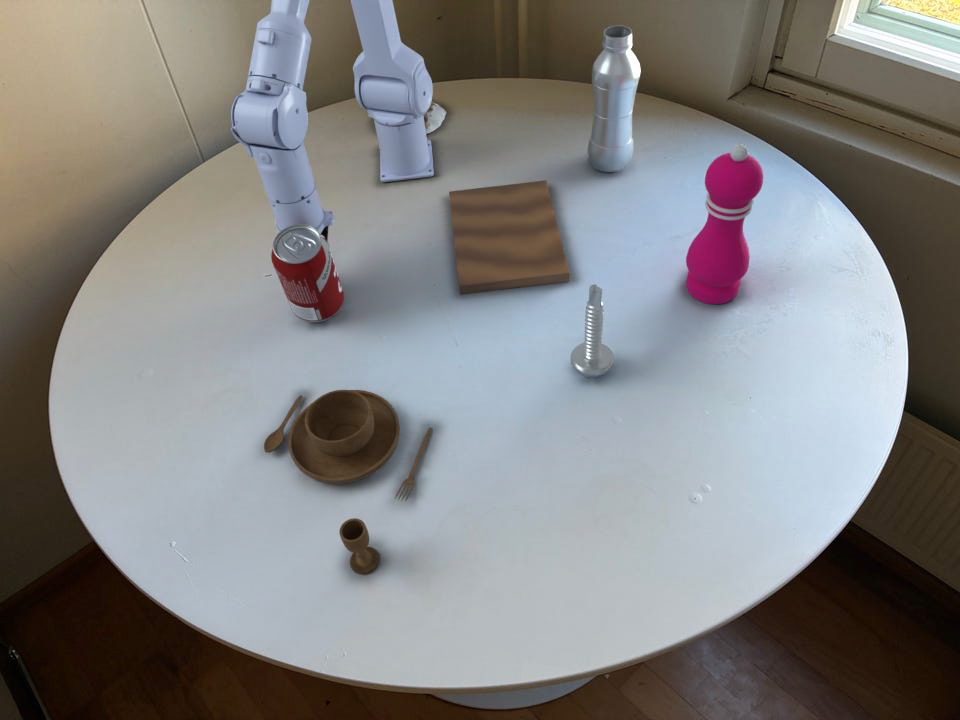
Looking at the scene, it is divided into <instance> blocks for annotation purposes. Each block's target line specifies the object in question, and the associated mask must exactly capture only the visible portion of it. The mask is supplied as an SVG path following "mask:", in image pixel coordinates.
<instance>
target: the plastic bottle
mask: <svg viewBox="0 0 960 720" xmlns="http://www.w3.org/2000/svg"><path fill="white" fill-rule="evenodd" d="M602 35H603V36H602V43H601V46H602V51H601V52H600V54H599V55H598V56H597V57H596V59H595V60H594V62H593V65H592V68H591V71H590V72H591V86H592V94H593V118H592V123H591V124H592V125H591V132H590V136H589V140H588V144H587V158H588V162H589V163H590V165H591V166H592V167H593V168H594V169H595V170H597V171H599V172H603V173H615V172H618V171H619V172H620V171H621V170H623V169H625V168H626V167H627V166H628V165H629V164H630V162H631V161H632V158H633V154H634V151H635V150H634V149H635V147H634V136H633V113H634V112H633V111H634V105H635V99H636V94H637V90H638V85H639V81H640V78H641V71H642V70H641V64H640V60H639V59H638V58H637V56H636V54H635V53H634V51H633V50H632V47H633V45H634V44H633V43H634V41H633V30H632V28H631V27H629V26H626V25H611V26H609V27H607V28H605V29H604V30H603V34H602Z"/></svg>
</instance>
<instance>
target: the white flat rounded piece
mask: <svg viewBox="0 0 960 720" xmlns="http://www.w3.org/2000/svg"><path fill="white" fill-rule="evenodd" d="M434 101H435V99H433V98H432V101H431V104H430V107H429V109H428V110H427V112H426V113H425V114H424V115H423V116H424V123H425V129H426V135H427V134H430V133H433V132H434V131H435V130H437V129H438V128H440V127H441V125H442V123H443V121H444V120H445V118H446V115H447V114H448V112H447V111H446V109H444V108H443V107H442V106H441V105H440V104H438V103H434Z"/></svg>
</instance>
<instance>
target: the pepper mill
mask: <svg viewBox="0 0 960 720" xmlns="http://www.w3.org/2000/svg"><path fill="white" fill-rule="evenodd" d="M763 184H764V171H763V167H762V165H761V164H760V162H759V161H758V160H757V159H756V158H754V157H753V156H752V155H750V154H749V149H748V147H747V146H746V145H745V144H741V143H737V144H735V145H734V146H733V147H732V148H731V149H730V152H727V153H723V154H721V155H719V156H717V157H716V158H715V159H714V160H713V161H711V162H710V164H709V166H708V168H707V170H706V172H705V177H704V186H705V190H706V192H707V194H706V196H705V197H706V200H705V202H704V204H705V205H704V206H705V210H706V211H707V214H708V215H707V220H706V222H705V224H704V226H703V227H702V228H701V230H700V231H699V232H698V233H697V235H696V236H695V237H694V239H692V242H691V244H690V245H689V247H688V249H687V254H686V257H685V264H686V267H687V270H688V272H687V275H686V281H685V287H686V290H687V292H688V294H689V295H690V296H691V297H692V298H694V299H695V300H697V301H699V302H701V303H703V304H708V305H721V304H725V303H728V302H730V301H732V300H733V299H735V297H736V296H737V295H738V293H739V290H740V286H741V280H742V279H743V277H744V276H745V275H746V274H747V272H748V270H749V267H750V266H749V265H750V257H751V255H750V249H749V246H748V243H747V240H746V238H745V234H744V233H745V232H744V223H745V219H746V217H748V216H749V215H750V214H751V212H752V210H753V205H754V198H757V195H758V194H759V193H760V192H761V190H762V188H763Z"/></svg>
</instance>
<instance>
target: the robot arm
mask: <svg viewBox="0 0 960 720" xmlns="http://www.w3.org/2000/svg"><path fill="white" fill-rule="evenodd" d="M310 1H311V0H271V4H270V12H269V14H267V15H266V16H264V17H263V18H262V19H260V20H259V21H258V22H257V23H256V30H255V36H254V40H253V47H252V52H251V57H250V63H249V69H248V74H247V80H246V86H245V90H243V92H241V93H240V94H238V95H237V96H236V97H235V99H234V100H233V103H232V106H231V111H230V112H231V113H230V119H231V128H230V131H231V134H232V136H233V137H234V138H235V140H236V141H238V143H240V144H242V145H243V146H244V147H245V150H246V152H247V156H249V157H251V158H252V159H254V162H255V165H256V168H257V171H258V174H259V177H260V179H261V183H262V185H263V189H264V191H265V194H266V197H267V200H268V203H269V205H270V208H271V212H272V215H273V217H274V220H275V222H274V223H275V224H274V225H275V226H274V227H275V229H276V231H277V234H278V233H279V232H280V231H281V230H283V229H284V228H286V227H288V226H291V225H296V224H305V225H309V226H311V227H313V228H315V229H316V230H317V231H318V232H319V234H321V235H322V236H324V237H325V238H326V240H327V241H328V242H329V227H330V226H333V225H334V224H335V219H336V217H335V213H334V211H332V210H328V211H327V210H324V208H323V206H322V204H321V200H320V196H319V192H318V189H317V185H316V182H315V179H314V178H315V177H314V175H313V172H312V167H311V164H310V161H309V157H308V153H307V150H306V149H307V148H306V146H305V143H304V140H305V137H306V134H307V130H308V128H309V112H308V108H307V107H308V106H307V99H308V98H307V92H306V91H304V84H305V79H306V73H307V69H308V68H307V67H308V61H309V56H310V51H311V44H312V36H311V34H310V33H309V30H308V29H307V26H306V24H305V19H306V15H307V12H308V8H309V4H310ZM350 4H351V8H352V12H353V17H354V19H355V24H356V27H357V31H358V35H359V40H360V43H361V47H362V51H361V52H360V54H359V55H358V56H357V58H356V60H355V61H354V64H353V66H352V72H353V78H354V96H355V99H356V101H357V103H358V105H359V107H360V108H361V109H363V110H366V112H367V116H368V118H371V119H373V122H374V123H373V124H374V127H375V132H376V137H377V142H378V147H379V155H380V156H379V158H380V159H379V162H380V163H379V165H380V169H379V170H380V171H379V173H380V174H379V177H380V182H381V183H388V182H397V181H405V180H413V179H423V178H431V177H433V176H434V175H435V171H434V170H435V169H434V161H433V148H432V141H431V140H430V139H428V138H427V134H426V129H425V123H424V116H423V115H424V114H425V113H426V112H427V110H428V109H429V107H430V104H431V101H432V100H433V94H434V85H433V81H432V77H431V76H430V73H429V72H428V69H427V68H426V64H425V61H424V57H423V56H422V55H420V54H419V53H417V52H416V51H415V50H414V49H412V48H411V47H409V46H407V45H405V43H403V42H402V40H401V35H400V29H399V26H398V25H399V24H398V21H397V15H396V11H395V7H394V1H393V0H350Z"/></svg>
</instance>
